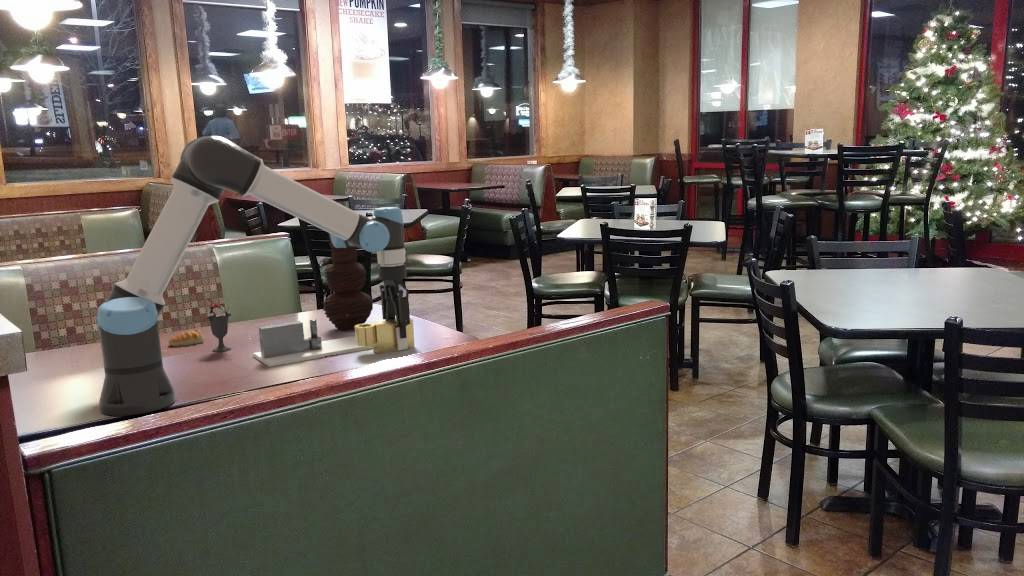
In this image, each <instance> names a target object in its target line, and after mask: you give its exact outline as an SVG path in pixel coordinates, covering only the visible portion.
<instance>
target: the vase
mask: <svg viewBox="0 0 1024 576" xmlns="http://www.w3.org/2000/svg"><path fill="white" fill-rule="evenodd" d="M327 236H328V237H329V238H328V240H329V241H330V242H329V246H330V248H331V249H330V252H331V254H330V255H331V257H330V258H331V260H332V263H331V264H330V265H329V266H328V268H326V269H325V273H324V274H325V276H324V278H325V281H326V285H327V286H328V289H329V290H330V292H333V293H332V294H328V296H327V297H326V298H324V301H323V302H322V304H323V305H322V307H323V309H322V311H324V313H323V314H324V315H325V317H326V318H327V319H328V321H329V322H330V323H331V324H333V325H334V327H335V328H336V331H341V332H353V331H354V332H355V327H354V326H356V325H358V324H365V323H366V322H367V320H368V318H369V317H370V316H371V313H372V311H373V309H374V306H373V304H374V301H373V299H372V297H371V295H370V294H369V293H366V292H364V291H362V290H363V289H364V287H365V285H366V280H367V270H366V269H365V267H364V265H363V264H362V263H360V262H358V250H357V249H358V248H355V247H346V248H336V247H335V246H334V245H333V244H332V241H331V237H330V233H329V232H328V234H327Z"/></svg>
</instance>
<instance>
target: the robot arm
mask: <svg viewBox="0 0 1024 576" xmlns="http://www.w3.org/2000/svg"><path fill="white" fill-rule="evenodd" d="M183 148H184V149H182V152H181V154H180V161H179V162H178V164H177V167H176V168H175V171H173V174H172V176H171V177H170V178H171V182H172V185H173V189H172V191H171V193H170V194H169V197H168V198H167V200H166V203H164V204H165V205H164V206H163V208H162V210H161V212H160V213H159V216H158V217H157V220H156V221H155V224H154V225H153V227H152V229H151V231H150V233H149V235H148V237H147V239H146V240H145V242H144V245H143V246H142V248H141V250H140V252H139V254H138V256H137V257H136V259H135V261H134V264H133V265H132V267H131V269H130V271H129V273H128V275H127V277H126V278H125V279H123V280H120V281H116V282H115V284H114V286H113V287H112V290H111V291H110V294H109V295H108V297H107V299H106V300H105V301H104V302H103V303H101V305H100V306H98V308H97V313H96V318H95V323H96V328H97V331H98V334H99V338H100V345H101V347H100V348H101V353H102V361H103V367H104V379H103V383H102V388H101V393H100V398H99V403H98V404H99V410H100V413H102V414H104V415H106V416H111V417H115V416H117V417H119V416H121V417H123V416H124V417H126V416H133V415H135V416H137V415H141V414H147V413H151V412H155V411H158V410H162V409H164V408H167V407H169V406H171V405H172V404H173V403H175V402H176V394H175V389H174V387H173V385H172V383H171V381H170V378H169V376H168V375H167V372H166V371H165V369H164V365H163V364H164V363H163V355H162V347H161V339H160V337H161V336H160V328H159V321H158V319H159V317H160V315H161V313H162V311H163V309H164V307H165V305H166V302H165V300H164V299H165V298H164V295H163V294H164V292H165V290H166V288H167V287H168V284H169V282H171V279H172V277H173V275H174V273H175V271H176V269H177V267H178V266H179V264H180V261H181V259H182V257H184V256H183V255H184V254H185V252H186V250H187V248H188V246H189V245H190V242H191V240H192V239H193V237H194V235H195V233H196V231H197V229H198V227H199V225H200V224H201V222H202V220H203V217H204V216H205V214H206V212H207V209H208V208H209V206H210V205H213V204H215V203H219V201H220V199H221V198H222V195H223V194H224V191H225V190H227V191H230V192H233V193H235V194H238V195H239V196H241V197H247V196H251V197H253V198H256V199H258V200H260V201H262V202H264V203H266V204H269V206H273V207H274V208H277V209H279V210H280V211H283V212H285V213H287V214H289V215H291V216H293V217H296V218H297V219H299V220H301V221H304V222H306V223H308V224H311V225H312V226H315V227H316V228H318V229H320V230H323V231H324V232H327V233H328V234H329V233H330V237H331V241H332V244H333V245H334V246H335V247H336V248H346V247H355V248H357V249H360V250H364V251H367V252H368V253H376V258H377V264H378V265H379V266H378V267H377V268H378V269H377V271H378V279H379V280H380V281H383V284H380V285H379V291H380V299H381V300H380V301H381V311H382V312H381V313H382V320H384V321H389V320H395V319H396V320H397V325H396V326H395V327H396V335H397V348H398V350H397V351H402V350H407V349H409V348H408V345H407V331H406V326H407V325H409V324H410V318H411V317H410V304H409V302H410V301H409V295H410V294H409V293H410V290H409V289H408V288H404V283H403V279H407V276H408V275H407V273H408V271H407V265H406V264H405V263H406V253H407V251H406V250H405V248H406V247H405V234H404V233H405V232H404V220H403V219H404V218H403V217H404V216H403V211H402V209H401V208H400V207H399V206H398V207H396V206H385V207H383V206H382V207H376V208H374V209H373V214H372V215H370V216H364V215H363V214H361V213H359V212H357V211H355V210H353V209H351V208H349V207H347V206H345V205H343V204H341V203H340V202H337V201H335V200H333V199H331V198H329V197H327V196H325V194H324V195H323V194H322V193H319V192H317V191H316V190H314V189H312V188H310V187H308V186H305V185H303V184H302V183H300V182H298V181H296V180H295V179H292V178H290V177H289V176H286V175H284V174H282V173H280V172H278V171H276V170H274V169H272V168H270V167H268V166H267V165H265V164H264V163H265V162H264V161H263V159H262V158H260V157H258V156H256V155H254V154H252V153H251V152H249V151H247V150H246V149H245V148H242V147H241V146H239V145H238V144H236V143H235V142H234V141H232V140H229V139H228V138H226V137H223V136H221V135H220V136H219V135H208V136H200V137H197V138H195V139H193V140H191V141H190V142H189V143H188V144H187V145H185V146H184V147H183ZM331 241H330V242H331Z"/></svg>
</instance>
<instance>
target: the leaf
mask: <svg viewBox="0 0 1024 576" xmlns="http://www.w3.org/2000/svg"><path fill="white" fill-rule="evenodd" d="M396 325H397V320H396V319H395V320H389V321H386V320H384V321H378V322H377V321H376V322H372V323H366V322H365V323H364V324H358V325H356V326H354V327H355V330H354V336H355V340H356V345H358V346H369V345H373V348H372V349H373V353H376V354H378V355H380V354H384V353H390V352H396V351H399V350H398V348H397V335H396V327H395V326H396ZM414 330H415V329H414V319H413V318H412V317H410V324H409V325H407V326H406V331H407V345H408V349H411V348H415V333H414V332H415V331H414Z"/></svg>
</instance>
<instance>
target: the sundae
mask: <svg viewBox="0 0 1024 576" xmlns="http://www.w3.org/2000/svg"><path fill="white" fill-rule="evenodd" d="M207 300H208V302H210V306H209V311H207V315H205V319H207V320H208V322H209V326H210V330H211V333H212V335H213V336H214V337H215V338H217V339H218V346H217V347H216V348H213V349H212V352H213V353H224V352H228V351H230V350H232V348H231V347H228V346H226V345H225V344H224V338H225V336H226V335H228V331H229V317H230V316H232V314H231V313H229V309H230V307H229V306H228V307H227V309H225V307H223V306H222V305H218V304H217V303H215V302H214V301H213V300H212V299H211V298H208V299H207Z"/></svg>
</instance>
